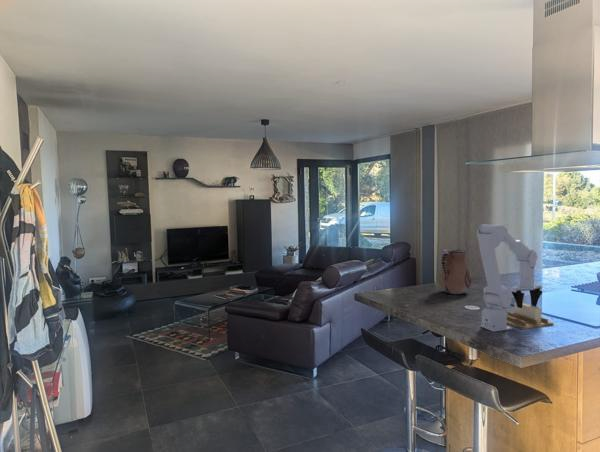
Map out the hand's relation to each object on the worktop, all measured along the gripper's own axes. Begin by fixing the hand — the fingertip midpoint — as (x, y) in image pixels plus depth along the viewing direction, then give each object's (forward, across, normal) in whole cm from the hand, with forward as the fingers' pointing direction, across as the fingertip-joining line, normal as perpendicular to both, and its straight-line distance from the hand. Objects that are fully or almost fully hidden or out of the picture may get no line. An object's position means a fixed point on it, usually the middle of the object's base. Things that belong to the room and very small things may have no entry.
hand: (526, 306), depth 186 cm
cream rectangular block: (+5, 0, 0) cm, 5 cm away
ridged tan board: (+6, -3, 0) cm, 7 cm away
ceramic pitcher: (+6, +4, +59) cm, 60 cm away
